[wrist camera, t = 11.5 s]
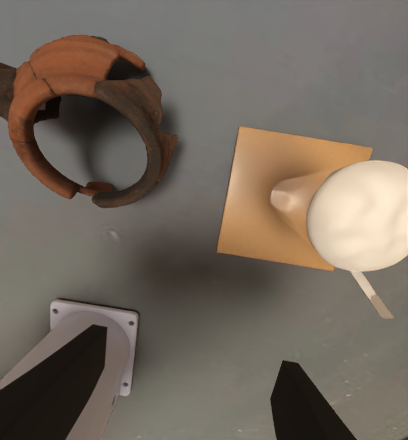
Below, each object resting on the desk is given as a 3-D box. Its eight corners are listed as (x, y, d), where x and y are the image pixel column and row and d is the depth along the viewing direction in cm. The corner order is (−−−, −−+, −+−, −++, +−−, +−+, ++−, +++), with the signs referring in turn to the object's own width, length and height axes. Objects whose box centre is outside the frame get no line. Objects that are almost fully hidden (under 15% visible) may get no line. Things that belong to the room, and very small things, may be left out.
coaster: (331, 269, 18) (333, 271, 17) (216, 250, 18) (216, 252, 17) (369, 148, 16) (373, 147, 15) (238, 127, 16) (239, 126, 15)
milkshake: (256, 233, 17) (320, 313, 7) (265, 166, 16) (354, 150, 6) (312, 237, 17) (455, 324, 7) (325, 170, 16) (515, 160, 6)
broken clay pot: (188, 63, 15) (195, 83, 9) (165, 174, 21) (160, 231, 15) (-13, -12, 12) (-209, -58, 6) (26, 144, 18) (-53, 201, 12)
